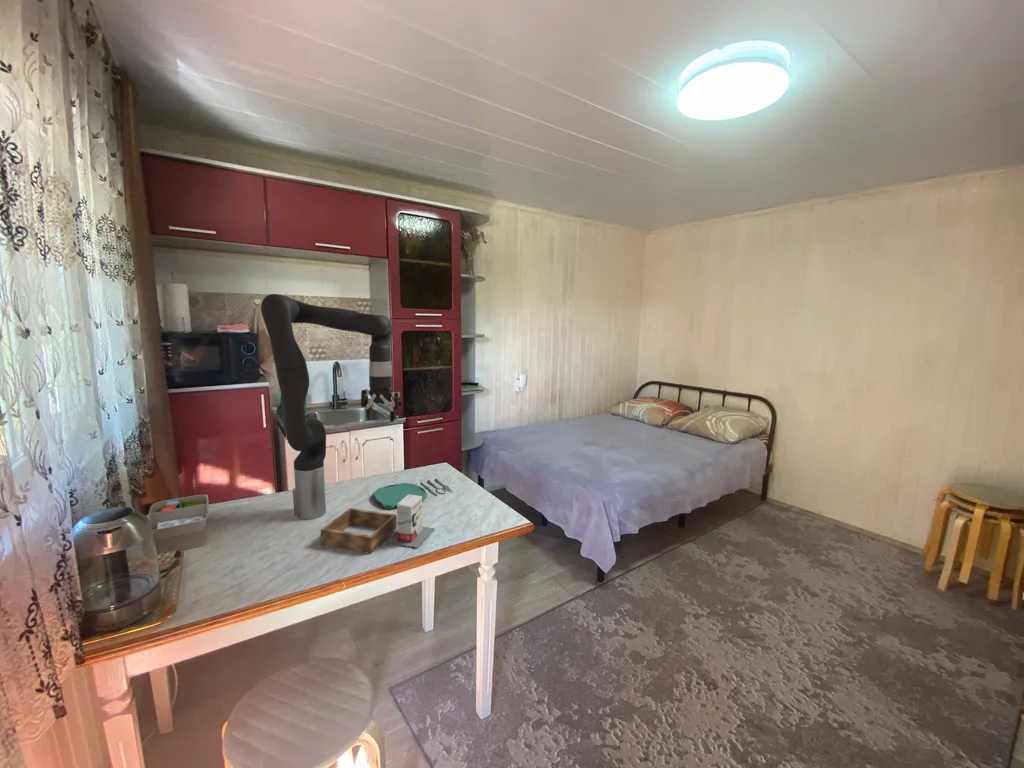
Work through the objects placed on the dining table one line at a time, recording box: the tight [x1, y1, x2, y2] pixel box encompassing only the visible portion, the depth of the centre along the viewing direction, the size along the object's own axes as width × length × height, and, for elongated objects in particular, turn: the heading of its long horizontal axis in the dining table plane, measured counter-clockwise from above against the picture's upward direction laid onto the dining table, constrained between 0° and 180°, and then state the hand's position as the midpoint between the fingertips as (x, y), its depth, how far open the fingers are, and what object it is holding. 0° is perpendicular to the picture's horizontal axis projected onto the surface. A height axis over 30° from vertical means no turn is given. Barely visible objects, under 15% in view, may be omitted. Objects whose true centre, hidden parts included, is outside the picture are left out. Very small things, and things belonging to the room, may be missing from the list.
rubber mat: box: [384, 526, 436, 549], centre depth 133 cm, size 11×12×1 cm
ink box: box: [396, 494, 423, 542], centre depth 132 cm, size 9×5×12 cm, turn 167°
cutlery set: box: [372, 478, 454, 510], centre depth 164 cm, size 20×30×2 cm, turn 127°
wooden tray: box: [320, 508, 397, 554], centre depth 132 cm, size 17×15×5 cm
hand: (381, 420), depth 146 cm, fingers open, 8 cm apart
